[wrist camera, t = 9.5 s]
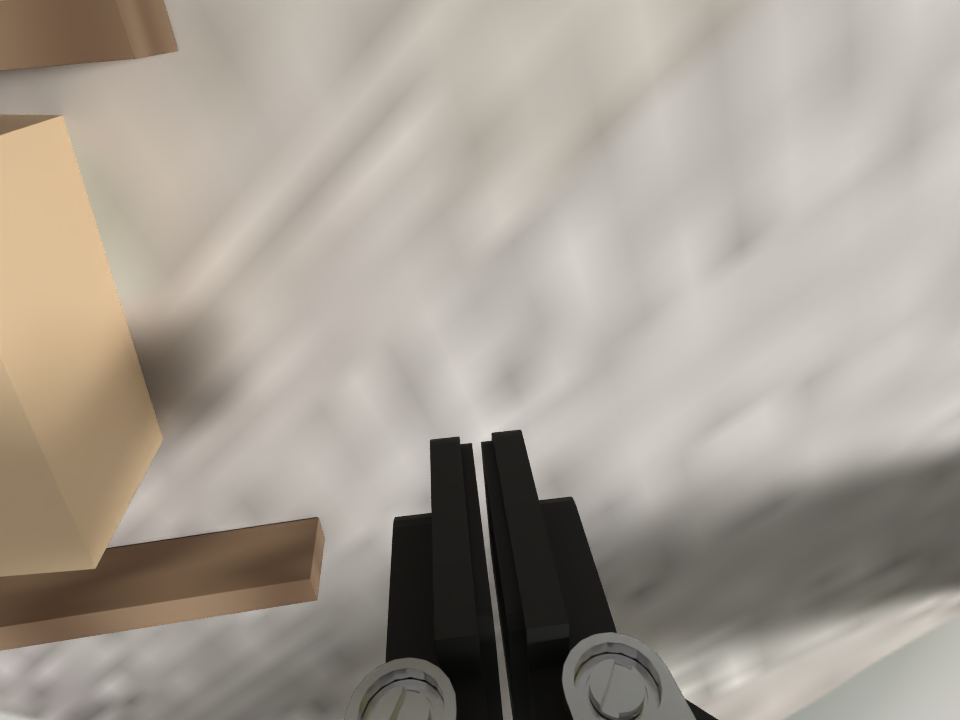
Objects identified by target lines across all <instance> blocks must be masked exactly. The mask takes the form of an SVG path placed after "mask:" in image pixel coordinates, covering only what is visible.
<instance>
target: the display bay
mask: <svg viewBox="0 0 960 720" xmlns="http://www.w3.org/2000/svg"><path fill="white" fill-rule="evenodd" d="M174 51H178V47H177V44H176V41H175V37H174V34H173V31H172V27H171V24H170V21H169V17H168V14H167V11H166V7H165V4H164V1H163V0H1V1H0V70H9V69H21V68H32V67H44V66H56V65H68V64H79V63H91V62H103V61H115V60H126V59H137V58H142V57H147V56H153V55H158V54H163V53H169V52H174ZM324 540H325V538H324V534H323V531H322V528H321V524H320V521H319V518H313V519H307V520H300V521H293V522H286V523H280V524H273V525H266V526H259V527H253V528H246V529H239V530H232V531H226V532H219V533H212V534H205V535H199V536H192V537H185V538H178V539H172V540H165V541H158V542H151V543H145V544H138V545H131V546H124V547H118V548H111V549H105V551H104V553H103V555H102V557H101V559H100V561H99V563H98V565H97V567H96V569H87V570H75V571H63V572H50V573H38V574H26V575H14V576H2V577H0V651H1V650H7V649H13V648H20V647H26V646H32V645H39V644H45V643H51V642H57V641H64V640H70V639H76V638H82V637H89V636H95V635H101V634H108V633H114V632H120V631H126V630H133V629H139V628H145V627H152V626H158V625H164V624H170V623H177V622H183V621H189V620H196V619H202V618H208V617H214V616H221V615H227V614H233V613H240V612H246V611H252V610H258V609H265V608H271V607H277V606H283V605H290V604H296V603H302V602H309V601H315V600H317V598H318V590H319V581H320V573H321V565H322V557H323V548H324Z"/></svg>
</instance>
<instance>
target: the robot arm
mask: <svg viewBox="0 0 960 720" xmlns="http://www.w3.org/2000/svg"><path fill="white" fill-rule="evenodd" d="M481 448H482V459H483V470H484V482H485V493H486V504H487V515H488V526H489V537H490V548H491V557H492V565H493V573H494V580H495V588H496V595H497V603H498V610H499V618H500V625H501V633H502V641H503V648H504V656H505V663H506V671H507V678H508V686H509V693H510V701H511V708H512V716H513V720H718V719H716V718H715V717H713V716H711V715H710V714H708V713H707V712H705V711H703V710H702V709H700V708H699V707H697V706H696V705H694V704H692V703H691V702H689V701H688V700H686V699H685V698H684V696H683V695H682V693H681V691H680V689H679V687H678V686H677V684H676V682H675V680H674V678H673V676H672V675H671V673H670V671H669V669H668V667H667V666H666V665H665V663H664V662H663V661H662V659H661V658H660V657H659V655H658V654H657V653H656V652H655V651H654V650H652V649H651V648H650V647H649V646H647V645H646V644H645V643H644V642H642V641H640V640H638V639H635V638H633V637H631V636H629V635H625V634H619V633H617V631H616V628H615V625H614V622H613V619H612V616H611V613H610V610H609V606H608V603H607V600H606V597H605V594H604V591H603V588H602V585H601V582H600V578H599V575H598V572H597V569H596V566H595V563H594V560H593V557H592V554H591V551H590V547H589V544H588V541H587V538H586V535H585V532H584V529H583V526H582V523H581V520H580V516H579V513H578V510H577V507H576V504H575V502H574V500H573V498H572V497H564V498H555V499H547V500H539V499H538V495H537V491H536V487H535V483H534V479H533V475H532V471H531V467H530V463H529V459H528V455H527V451H526V447H525V443H524V439H523V435H522V431H521V430H513V431H504V432H495V433H492V441H486V442H481ZM430 462H431V507H432V513H427V514H418V515H410V516H401V517H395V518H394V523H393V537H392V555H391V574H390V592H389V610H388V628H387V646H386V663H385V664H383V665H381V666H378V667H377V668H376V669H375V670H373V671H372V672H371V673H370V674H368V675H367V676H366V677H365V678H364V679H363V680H362V682H361V683H360V684H359V686H358V687H357V688H356V690H355V691H354V692H353V695H352V697H351V700H350V702H349V705H348V707H347V710H346V714H345V718H344V720H503V715H502V704H501V693H500V683H499V672H498V661H497V651H496V640H495V631H494V622H493V613H492V605H491V597H490V588H489V580H488V572H487V564H486V556H485V547H484V539H483V531H482V523H481V515H480V506H479V498H478V490H477V482H476V474H475V465H474V457H473V449H472V443H468V444H460V437H450V438H441V439H432V440H430Z"/></svg>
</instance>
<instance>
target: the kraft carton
mask: <svg viewBox="0 0 960 720" xmlns="http://www.w3.org/2000/svg"><path fill="white" fill-rule="evenodd" d="M162 441H163V438H162V435H161V431H160V428H159V425H158V422H157V418H156V415H155V412H154V409H153V406H152V402H151V399H150V396H149V393H148V389H147V386H146V383H145V380H144V377H143V373H142V370H141V367H140V364H139V360H138V357H137V354H136V351H135V347H134V344H133V341H132V338H131V335H130V331H129V328H128V325H127V322H126V318H125V315H124V312H123V309H122V306H121V302H120V299H119V296H118V293H117V289H116V286H115V283H114V280H113V277H112V273H111V270H110V267H109V264H108V260H107V257H106V254H105V251H104V248H103V244H102V241H101V238H100V235H99V231H98V228H97V225H96V222H95V219H94V215H93V212H92V209H91V206H90V202H89V199H88V196H87V193H86V190H85V186H84V183H83V180H82V177H81V173H80V170H79V167H78V164H77V160H76V157H75V154H74V151H73V148H72V144H71V141H70V138H69V135H68V131H67V128H66V125H65V122H64V119H63V115H0V577H2V576H14V575H26V574H38V573H50V572H63V571H75V570H87V569H96V567H97V565H98V563H99V561H100V559H101V557H102V555H103V553H104V551H105V549H106V548H107V546H108V544H109V542H110V540H111V538H112V536H113V534H114V532H115V530H116V529H117V527H118V525H119V523H120V521H121V519H122V517H123V515H124V513H125V511H126V509H127V508H128V506H129V504H130V502H131V500H132V498H133V496H134V494H135V492H136V490H137V489H138V487H139V485H140V483H141V481H142V479H143V477H144V475H145V473H146V471H147V470H148V468H149V466H150V464H151V462H152V460H153V458H154V456H155V454H156V452H157V450H158V449H159V447H160V445H161V443H162Z"/></svg>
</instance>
